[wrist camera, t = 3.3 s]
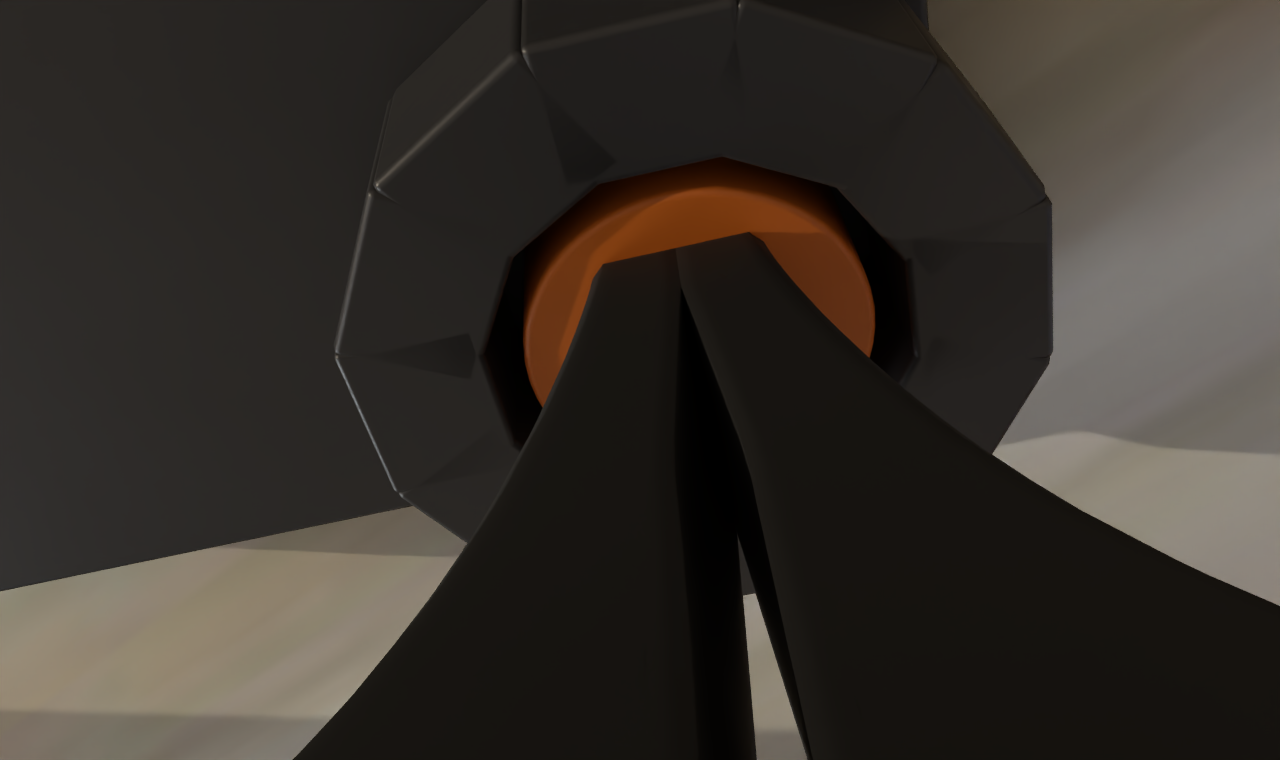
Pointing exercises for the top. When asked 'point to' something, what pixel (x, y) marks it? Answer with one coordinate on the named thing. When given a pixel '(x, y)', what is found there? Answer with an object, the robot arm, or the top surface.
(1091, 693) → the robot arm
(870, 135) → the scale
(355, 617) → the top surface
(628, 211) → the button
